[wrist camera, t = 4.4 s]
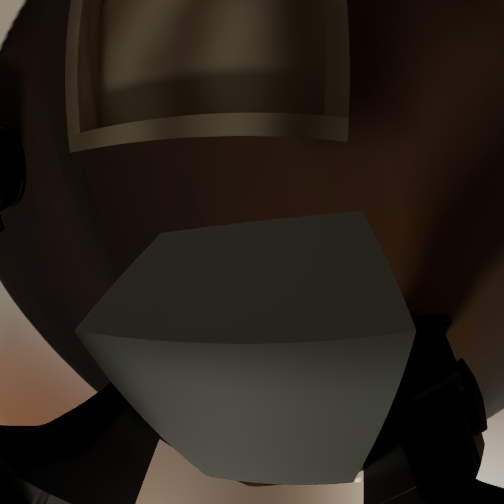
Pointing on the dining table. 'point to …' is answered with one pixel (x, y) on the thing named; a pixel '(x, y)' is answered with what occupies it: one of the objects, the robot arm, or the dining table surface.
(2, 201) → the french press
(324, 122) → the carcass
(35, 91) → the dining table surface
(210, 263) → the grey faceted block
